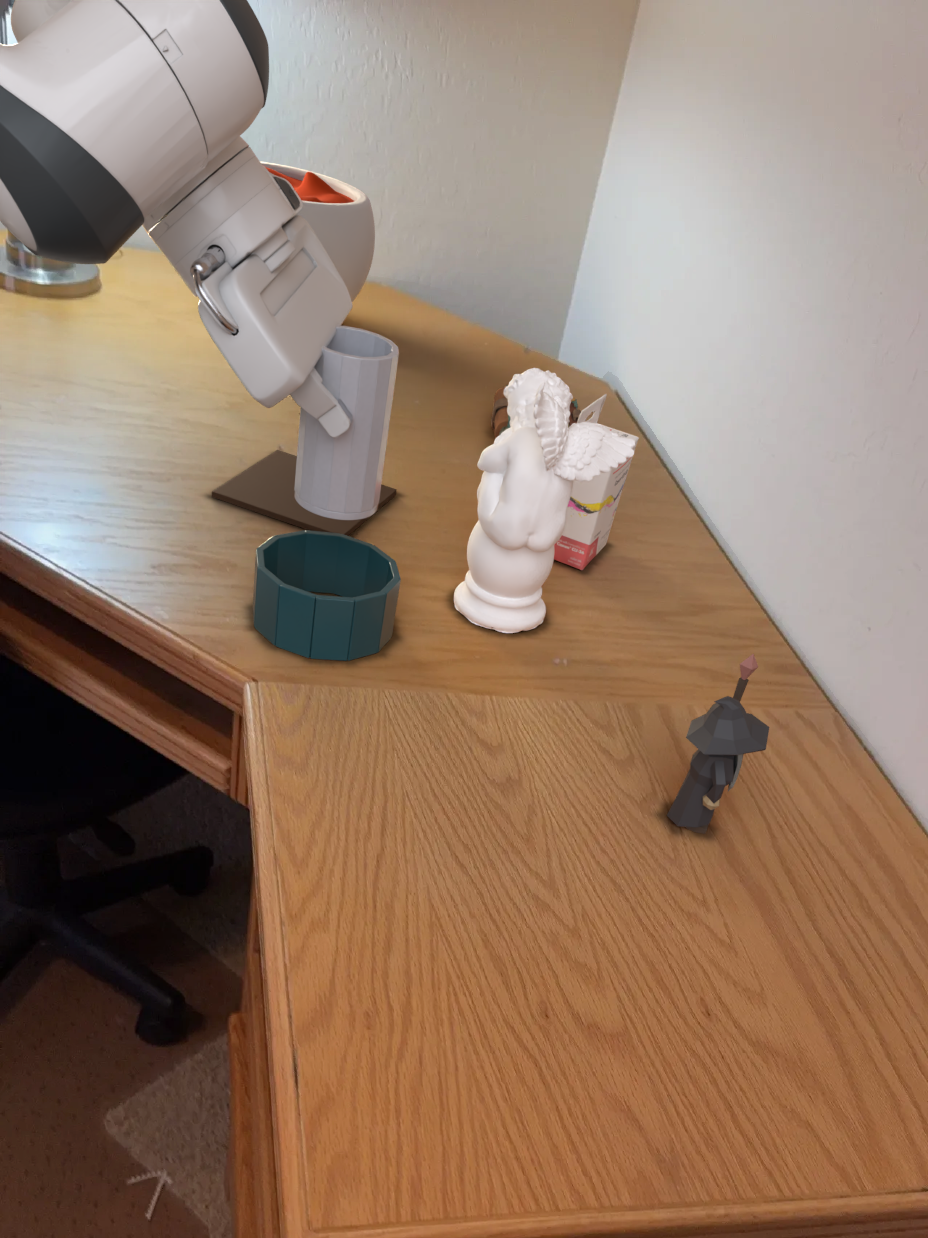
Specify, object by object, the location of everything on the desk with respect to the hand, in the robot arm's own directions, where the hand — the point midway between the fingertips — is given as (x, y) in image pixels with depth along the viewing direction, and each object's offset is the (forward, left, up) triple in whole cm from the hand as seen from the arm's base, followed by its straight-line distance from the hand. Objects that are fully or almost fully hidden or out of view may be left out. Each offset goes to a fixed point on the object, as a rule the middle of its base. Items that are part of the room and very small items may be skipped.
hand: (354, 410), depth 79 cm
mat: (-12, +21, -18) cm, 30 cm away
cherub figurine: (+14, +11, -18) cm, 25 cm away
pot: (-40, +70, -18) cm, 83 cm away
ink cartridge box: (+15, +29, -18) cm, 37 cm away
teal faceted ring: (0, -1, -18) cm, 18 cm away
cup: (-1, 0, -7) cm, 7 cm away
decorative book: (+4, +54, -18) cm, 57 cm away
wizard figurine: (+34, -9, -18) cm, 39 cm away
